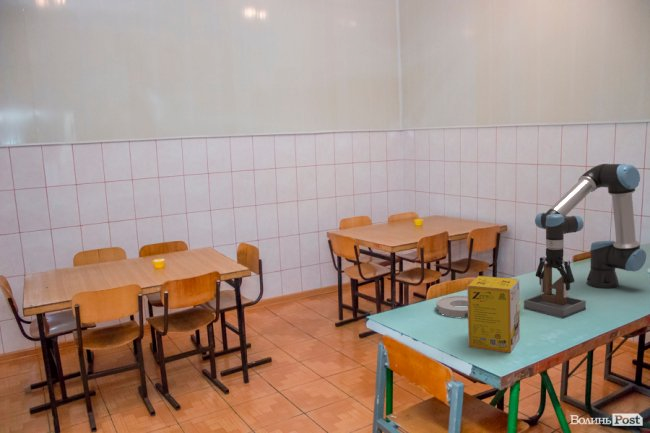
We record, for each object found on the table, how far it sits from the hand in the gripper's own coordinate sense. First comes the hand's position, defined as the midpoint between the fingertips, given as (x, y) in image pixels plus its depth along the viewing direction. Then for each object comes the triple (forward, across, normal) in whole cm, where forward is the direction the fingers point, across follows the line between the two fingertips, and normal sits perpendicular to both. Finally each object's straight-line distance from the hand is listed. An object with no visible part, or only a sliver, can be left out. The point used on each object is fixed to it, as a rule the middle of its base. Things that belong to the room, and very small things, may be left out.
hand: (554, 294), depth 256 cm
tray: (+7, 0, 0) cm, 7 cm away
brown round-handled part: (+4, 0, 0) cm, 4 cm away
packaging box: (+7, +7, -53) cm, 54 cm away
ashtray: (+8, -29, -31) cm, 43 cm away
